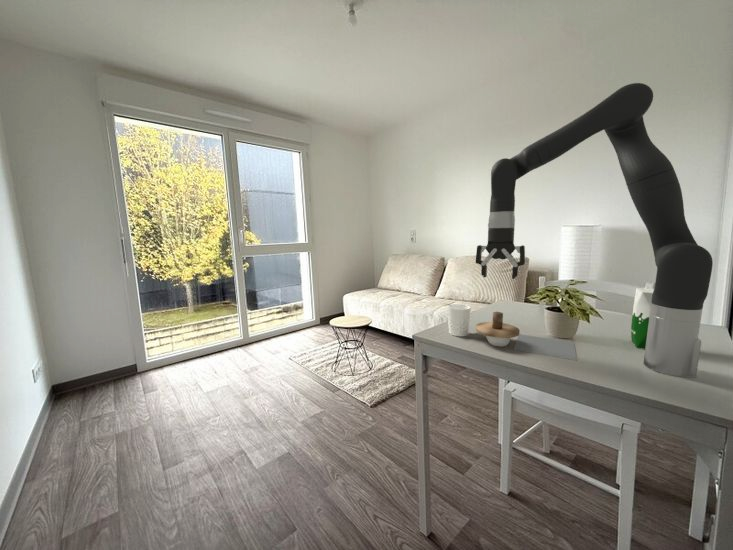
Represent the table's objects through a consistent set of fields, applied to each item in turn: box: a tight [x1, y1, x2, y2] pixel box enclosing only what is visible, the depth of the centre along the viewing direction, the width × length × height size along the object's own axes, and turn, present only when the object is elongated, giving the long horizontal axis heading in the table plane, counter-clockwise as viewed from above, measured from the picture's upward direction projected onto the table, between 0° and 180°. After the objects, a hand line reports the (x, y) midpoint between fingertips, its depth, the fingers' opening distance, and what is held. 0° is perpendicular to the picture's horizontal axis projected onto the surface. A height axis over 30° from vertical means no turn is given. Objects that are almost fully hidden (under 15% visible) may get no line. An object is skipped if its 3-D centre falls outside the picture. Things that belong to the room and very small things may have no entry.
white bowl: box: [484, 335, 511, 347], centre depth 97 cm, size 10×10×5 cm
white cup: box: [447, 303, 472, 337], centre depth 108 cm, size 8×8×10 cm
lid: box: [475, 311, 520, 339], centre depth 97 cm, size 13×13×6 cm
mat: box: [513, 333, 578, 362], centre depth 95 cm, size 16×16×1 cm
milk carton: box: [630, 287, 654, 349], centre depth 93 cm, size 9×9×20 cm
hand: (498, 277), depth 96 cm, fingers open, 8 cm apart
